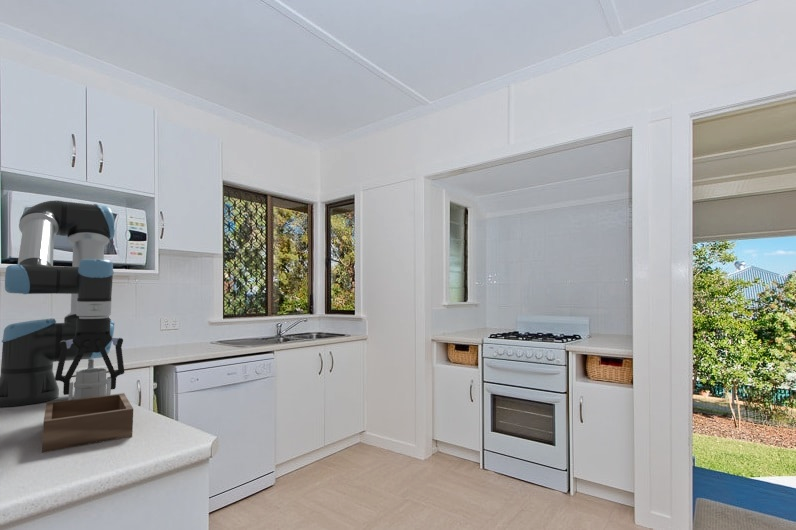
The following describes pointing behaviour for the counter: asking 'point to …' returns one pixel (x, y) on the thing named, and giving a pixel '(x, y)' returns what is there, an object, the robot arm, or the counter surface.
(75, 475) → the counter surface
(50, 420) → the wooden box
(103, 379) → the mug
